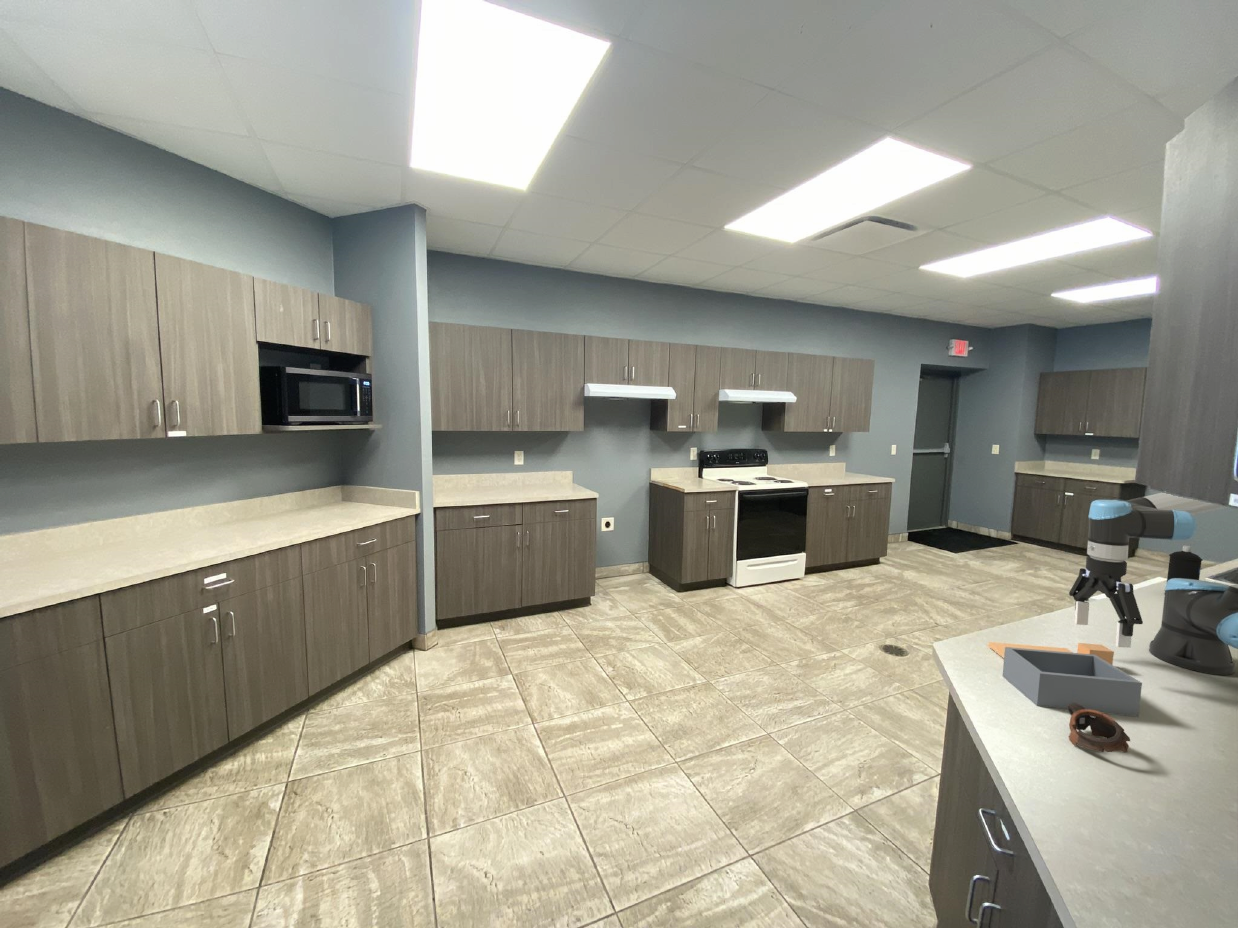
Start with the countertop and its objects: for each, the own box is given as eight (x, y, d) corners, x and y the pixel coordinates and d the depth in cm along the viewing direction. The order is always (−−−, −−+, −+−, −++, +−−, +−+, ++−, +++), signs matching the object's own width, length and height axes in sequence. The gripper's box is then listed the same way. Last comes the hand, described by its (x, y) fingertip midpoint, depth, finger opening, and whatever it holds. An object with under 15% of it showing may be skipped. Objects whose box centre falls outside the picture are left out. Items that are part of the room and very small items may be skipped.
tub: (1091, 684, 118) (1094, 654, 117) (1138, 716, 105) (1142, 682, 105) (1002, 676, 122) (1005, 646, 121) (1036, 705, 109) (1040, 673, 108)
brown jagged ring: (1148, 764, 91) (1143, 736, 89) (1096, 779, 93) (1090, 752, 90) (1090, 712, 103) (1085, 686, 100) (1045, 726, 104) (1039, 701, 102)
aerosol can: (1178, 600, 175) (1185, 548, 174) (1157, 592, 183) (1163, 542, 182) (1204, 602, 174) (1211, 549, 172) (1182, 593, 182) (1188, 544, 180)
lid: (1086, 656, 133) (1088, 637, 132) (1126, 681, 120) (1129, 660, 120) (987, 648, 137) (989, 629, 137) (1016, 671, 125) (1018, 650, 124)
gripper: (1055, 545, 137) (1051, 615, 139) (1131, 572, 113) (1125, 656, 114) (1085, 546, 136) (1080, 616, 137) (1168, 573, 111) (1161, 658, 113)
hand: (1100, 634), depth 126 cm, fingers open, 13 cm apart
